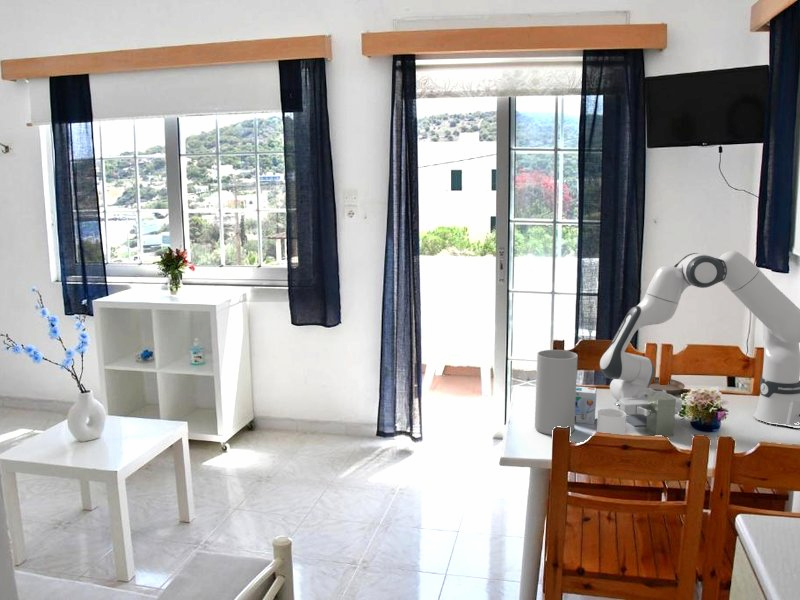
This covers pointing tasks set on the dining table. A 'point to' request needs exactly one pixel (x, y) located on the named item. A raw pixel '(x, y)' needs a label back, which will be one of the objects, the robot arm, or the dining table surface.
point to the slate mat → (637, 420)
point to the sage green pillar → (661, 414)
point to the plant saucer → (668, 386)
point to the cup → (611, 421)
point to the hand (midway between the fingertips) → (662, 412)
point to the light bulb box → (585, 405)
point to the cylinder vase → (555, 390)
